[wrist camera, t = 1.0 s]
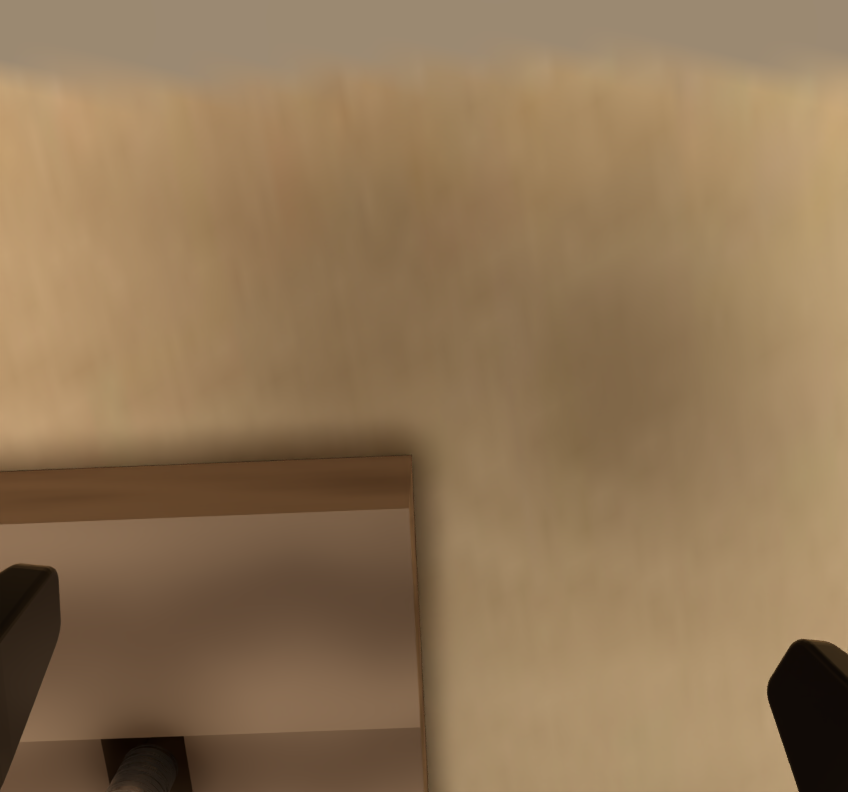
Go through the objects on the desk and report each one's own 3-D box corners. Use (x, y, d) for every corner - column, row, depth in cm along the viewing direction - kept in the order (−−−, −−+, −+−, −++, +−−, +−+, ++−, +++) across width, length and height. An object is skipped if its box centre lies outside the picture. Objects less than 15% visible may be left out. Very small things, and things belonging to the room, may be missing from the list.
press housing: (431, 852, 25) (432, 966, 22) (12, 866, 26) (-61, 982, 22) (411, 454, 21) (408, 508, 17) (-90, 475, 21) (-202, 532, 18)
